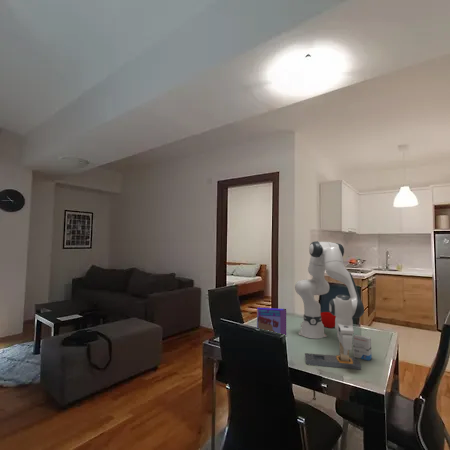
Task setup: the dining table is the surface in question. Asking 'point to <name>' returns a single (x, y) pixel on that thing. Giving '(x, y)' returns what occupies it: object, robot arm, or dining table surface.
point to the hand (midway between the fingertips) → (344, 352)
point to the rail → (332, 361)
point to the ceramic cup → (328, 319)
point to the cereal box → (272, 319)
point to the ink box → (362, 347)
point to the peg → (342, 356)
